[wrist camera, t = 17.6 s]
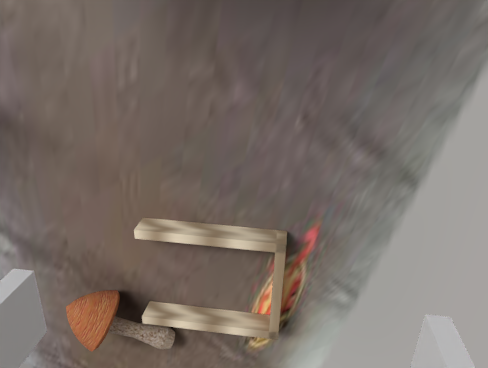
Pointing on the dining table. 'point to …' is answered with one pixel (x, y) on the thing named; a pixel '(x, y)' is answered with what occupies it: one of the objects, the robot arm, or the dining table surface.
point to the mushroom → (111, 322)
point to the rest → (220, 238)
